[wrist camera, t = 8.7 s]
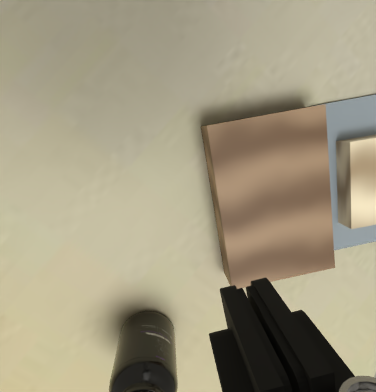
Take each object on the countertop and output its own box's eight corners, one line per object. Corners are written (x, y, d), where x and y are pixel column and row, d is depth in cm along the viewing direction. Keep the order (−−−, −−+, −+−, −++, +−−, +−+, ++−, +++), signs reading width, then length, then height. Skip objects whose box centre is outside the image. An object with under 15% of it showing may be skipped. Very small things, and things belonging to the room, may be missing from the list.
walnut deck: (200, 126, 31) (207, 125, 27) (305, 107, 32) (325, 104, 28) (224, 272, 35) (232, 289, 32) (315, 252, 36) (334, 267, 32)
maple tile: (402, 133, 31) (384, 133, 33) (350, 142, 30) (335, 141, 33) (400, 219, 33) (383, 213, 36) (351, 229, 33) (338, 222, 35)
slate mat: (309, 106, 32) (310, 106, 32) (400, 89, 33) (403, 89, 32) (319, 252, 36) (321, 253, 36) (400, 234, 37) (402, 235, 37)
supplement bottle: (170, 304, 36) (176, 388, 24) (177, 349, 37) (186, 449, 26) (115, 313, 35) (94, 403, 24) (125, 359, 37) (109, 465, 25)
